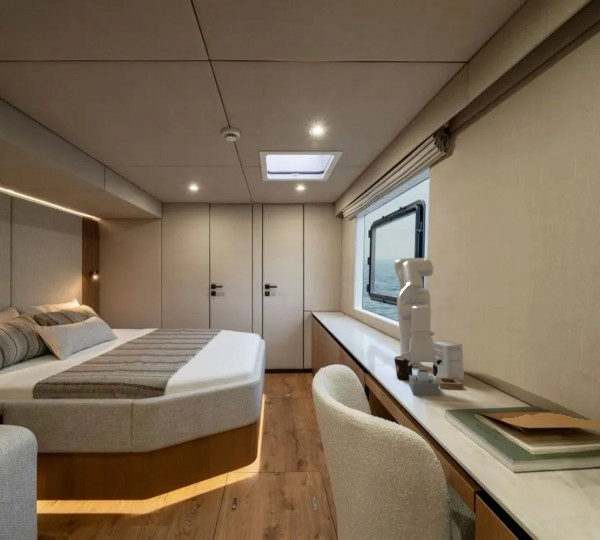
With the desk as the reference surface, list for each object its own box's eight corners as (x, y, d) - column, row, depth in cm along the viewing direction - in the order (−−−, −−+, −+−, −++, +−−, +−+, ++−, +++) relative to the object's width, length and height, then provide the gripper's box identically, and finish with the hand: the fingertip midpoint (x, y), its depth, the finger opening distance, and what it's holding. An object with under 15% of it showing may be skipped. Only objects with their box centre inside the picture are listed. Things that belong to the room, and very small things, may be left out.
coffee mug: (415, 382, 148) (414, 360, 149) (395, 381, 150) (394, 359, 150) (411, 374, 160) (410, 354, 160) (393, 374, 161) (392, 354, 162)
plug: (417, 387, 138) (417, 367, 139) (427, 388, 137) (426, 368, 138) (419, 391, 135) (418, 370, 135) (429, 391, 134) (428, 370, 134)
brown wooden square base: (435, 382, 147) (435, 377, 147) (457, 383, 145) (456, 378, 145) (440, 389, 138) (440, 383, 138) (462, 390, 136) (462, 384, 136)
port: (409, 386, 143) (408, 373, 143) (433, 387, 141) (432, 374, 141) (413, 395, 131) (412, 382, 131) (439, 396, 129) (438, 383, 129)
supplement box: (450, 374, 158) (449, 340, 159) (464, 380, 149) (463, 343, 150) (434, 376, 156) (432, 341, 156) (447, 382, 147) (446, 345, 147)
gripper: (440, 333, 139) (442, 373, 138) (399, 332, 142) (400, 371, 142) (445, 336, 131) (446, 378, 131) (401, 336, 135) (402, 376, 134)
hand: (422, 374), depth 136 cm, fingers open, 9 cm apart
